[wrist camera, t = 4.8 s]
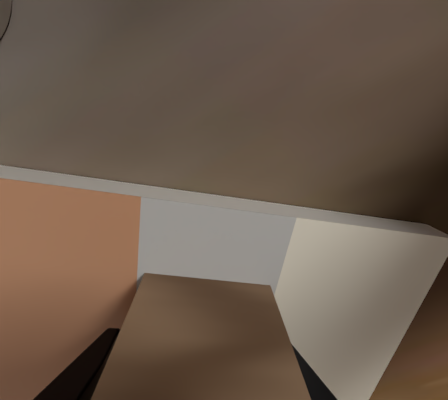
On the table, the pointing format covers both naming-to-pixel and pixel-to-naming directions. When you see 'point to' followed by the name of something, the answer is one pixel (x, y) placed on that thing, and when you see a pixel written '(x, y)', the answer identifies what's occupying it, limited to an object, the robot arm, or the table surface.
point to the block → (202, 344)
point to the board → (200, 271)
